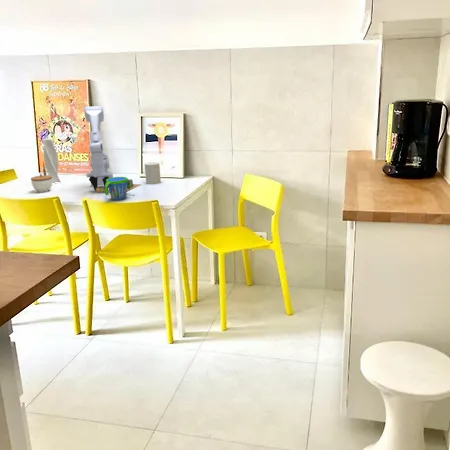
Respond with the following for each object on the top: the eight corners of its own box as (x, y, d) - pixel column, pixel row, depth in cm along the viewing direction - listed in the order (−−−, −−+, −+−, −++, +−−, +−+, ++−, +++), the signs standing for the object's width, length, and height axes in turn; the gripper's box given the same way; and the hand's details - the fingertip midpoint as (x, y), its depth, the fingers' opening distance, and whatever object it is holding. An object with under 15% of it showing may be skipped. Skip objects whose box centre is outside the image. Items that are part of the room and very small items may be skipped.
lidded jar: (57, 189, 273) (55, 172, 270) (44, 193, 264) (42, 176, 261) (41, 188, 277) (39, 172, 274) (28, 192, 267) (26, 175, 264)
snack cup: (112, 203, 237) (110, 182, 234) (99, 200, 244) (97, 180, 241) (137, 196, 248) (135, 177, 245) (125, 194, 255) (123, 175, 252)
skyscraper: (57, 180, 297) (50, 133, 289) (63, 182, 292) (57, 134, 284) (44, 182, 291) (36, 135, 283) (50, 184, 286) (43, 136, 278)
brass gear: (94, 194, 257) (93, 188, 256) (99, 192, 262) (99, 185, 261) (103, 194, 255) (102, 188, 254) (108, 192, 260) (108, 186, 259)
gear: (122, 187, 264) (121, 181, 263) (123, 185, 270) (122, 179, 269) (132, 187, 265) (131, 181, 264) (133, 185, 270) (132, 178, 269)
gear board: (106, 193, 258) (105, 185, 257) (122, 185, 275) (121, 178, 274) (126, 194, 255) (126, 186, 254) (142, 186, 271) (141, 179, 270)
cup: (158, 186, 271) (156, 164, 267) (144, 186, 272) (142, 164, 269) (162, 183, 278) (161, 162, 275) (149, 183, 280) (147, 162, 276)
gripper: (82, 166, 253) (85, 192, 257) (106, 167, 249) (109, 193, 253) (89, 164, 259) (92, 189, 263) (113, 164, 255) (116, 190, 259)
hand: (101, 190), depth 258 cm, fingers closed on brass gear, 5 cm apart
